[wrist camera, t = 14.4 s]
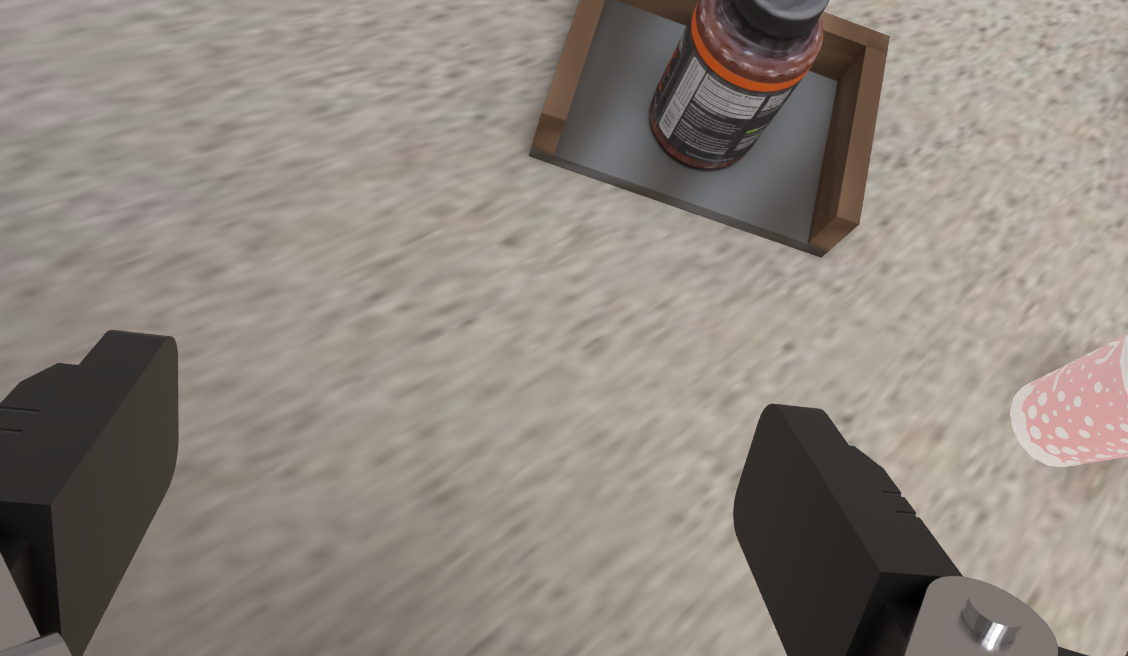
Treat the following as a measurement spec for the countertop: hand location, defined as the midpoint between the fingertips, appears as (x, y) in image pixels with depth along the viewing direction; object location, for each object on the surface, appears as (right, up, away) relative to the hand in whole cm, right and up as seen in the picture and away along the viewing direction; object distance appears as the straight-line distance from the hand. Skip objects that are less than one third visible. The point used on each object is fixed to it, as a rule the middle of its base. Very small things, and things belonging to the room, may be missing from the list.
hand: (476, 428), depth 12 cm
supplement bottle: (+8, +12, +35) cm, 38 cm away
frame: (+9, +13, +36) cm, 39 cm away
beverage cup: (+27, -4, +34) cm, 43 cm away
